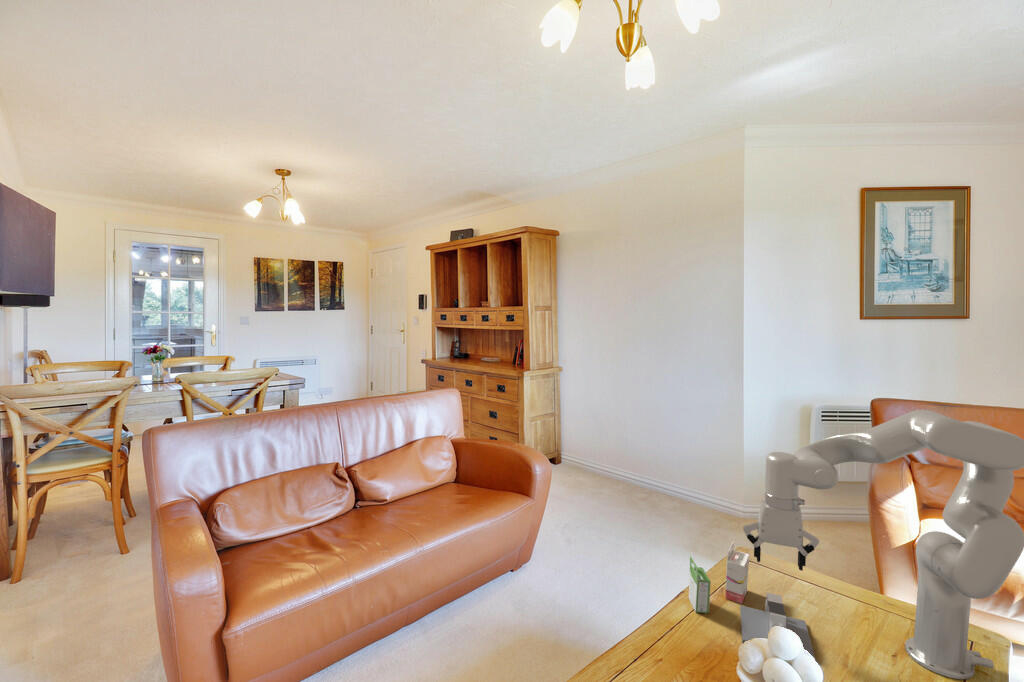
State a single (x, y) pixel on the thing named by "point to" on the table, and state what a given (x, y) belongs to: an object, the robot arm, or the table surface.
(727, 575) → the ink cartridge box
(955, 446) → the robot arm
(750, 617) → the pin tray
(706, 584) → the ink box
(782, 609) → the block
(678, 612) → the table surface
